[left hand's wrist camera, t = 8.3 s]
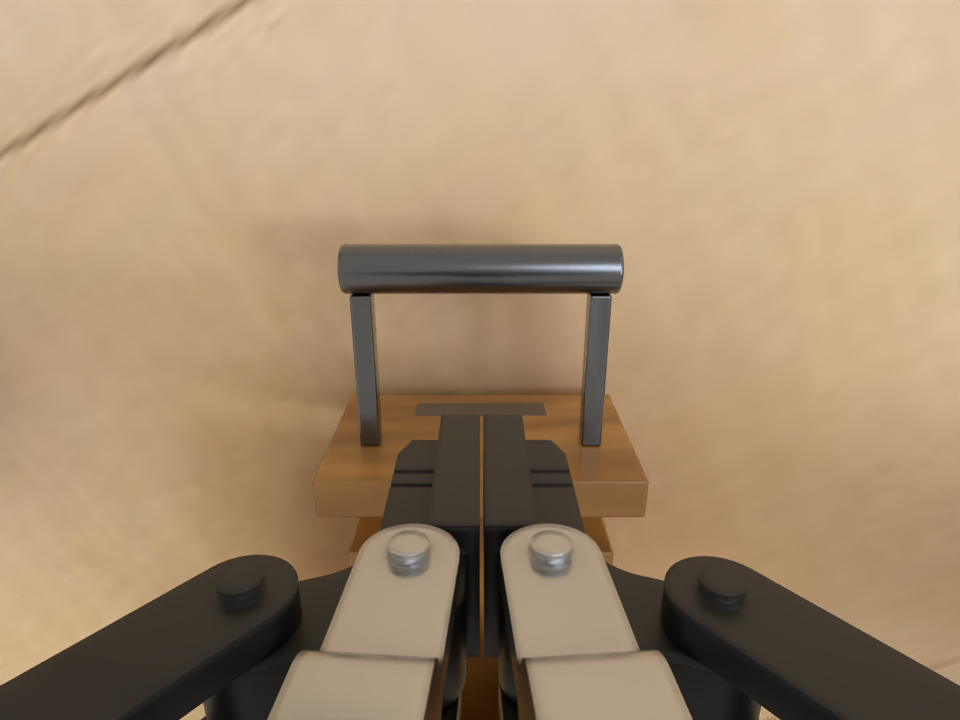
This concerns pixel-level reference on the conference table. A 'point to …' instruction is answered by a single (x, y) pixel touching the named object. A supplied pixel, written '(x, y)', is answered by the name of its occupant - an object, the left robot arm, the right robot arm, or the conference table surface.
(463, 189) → the conference table surface
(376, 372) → the drawer
